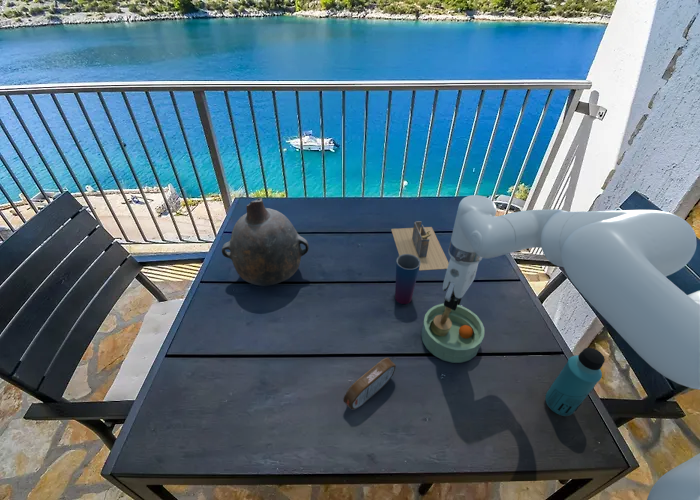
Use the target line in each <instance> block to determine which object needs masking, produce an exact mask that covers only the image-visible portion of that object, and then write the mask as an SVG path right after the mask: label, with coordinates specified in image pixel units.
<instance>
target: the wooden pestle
mask: <svg viewBox="0 0 700 500" xmlns="http://www.w3.org/2000/svg"><path fill="white" fill-rule="evenodd" d="M453 294H454V293H453ZM454 295H455V294H454ZM451 310H452V309H450V308H448V307H445V310H444V312H443V315H437V316H435V317H434V319H433V322H432V325H431V329H432V331H433V332H434V333H435V334H436V335H439V336H445V335H447V334H448V333H449V330H450V328H451V326H452V323H451V320H450V319H449V318H448V316H449V314H450V312H451Z"/></svg>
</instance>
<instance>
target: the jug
mask: <svg viewBox="0 0 700 500" xmlns="http://www.w3.org/2000/svg"><path fill="white" fill-rule="evenodd" d="M245 207H246V213H244V214H243V215H242V216H240V217H239V218H238V219H237V221H236V222H235V224H234V226H233V228H232V231H231V235H230V239H229V240H228V241H227V242H225V243H224V244H223V245H222V247H221V253H222V256H223V257H224V258H227V259H228V260H229V259H230V260H231V262H232V264H233V267H234V269H235V271H236V273H237V275H238V276H239V277H240V278H241V279H242V280H243V281H245V282H246V283H249V284H252V285H256V286H272V285H277V284H279V283H283V282H285V281H287V280H289V279H290V278H291V277H293V276H294V275H295V274H296V272H297V271H298V269H299V267H300V264H301V259H302V257H303V256H305V255H306V254H308V252H309V248H310V245H309V241H308V240H307V239H306V238H305V237H303V236H301V235H300V234H299V233H298V231H297V229H296V227H294V224H293V223H292V222H291V220H289V218H288V217H287V216H286V215H285V214H283V213H282V212H280V211H279V210H276V209H273V208H269V207H266V206H265V204H264V201H263V198H262V197H257V199H255V200H251V201H250V202H249V203H248V204H247V205H246V206H245ZM301 245H303V246H304V247H305V248H302V246H301ZM227 250H228V251H227Z"/></svg>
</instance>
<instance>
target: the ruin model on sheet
mask: <svg viewBox="0 0 700 500" xmlns="http://www.w3.org/2000/svg"><path fill="white" fill-rule="evenodd" d="M390 230H391V233H392V236H393V240H394V244H395V246H396V250H397V252H398V257H399V256H400V255H403V254H411V255H414V256H416V257H417V258H419V260H420V267H419V271H431V270H432V271H433V270H434V271H435V270H447V268H448V264H449V260H448V258H447V256H446V254H445V252H444V250H443V248H442V246H441V243H440V240H438V237H437V235H436V233H435V230H434V228H433V227H432V226H424V225H423V224H422V221H421V220H420V221H419V220H418V221H417V220H416V221H414V222H413V227H404V228H401V227H400V228H391V229H390Z"/></svg>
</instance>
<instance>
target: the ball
mask: <svg viewBox="0 0 700 500" xmlns="http://www.w3.org/2000/svg"><path fill="white" fill-rule="evenodd" d="M459 334H460V336H461V337H462V338H465V339H467V338H470V337H471V336H472V334H473V331H472V328H471V327H470V326H468V325H463V326H461V327H460V329H459Z"/></svg>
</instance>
